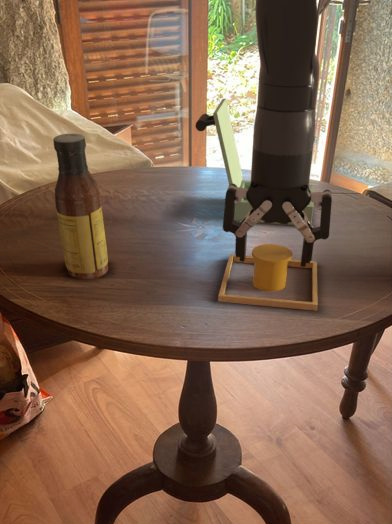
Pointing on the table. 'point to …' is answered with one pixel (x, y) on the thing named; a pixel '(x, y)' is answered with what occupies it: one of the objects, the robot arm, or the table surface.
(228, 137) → the lid
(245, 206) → the green storage bin
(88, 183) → the sauce bottle
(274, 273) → the cylinder
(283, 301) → the tray
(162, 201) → the table surface
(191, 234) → the table surface
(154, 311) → the table surface
